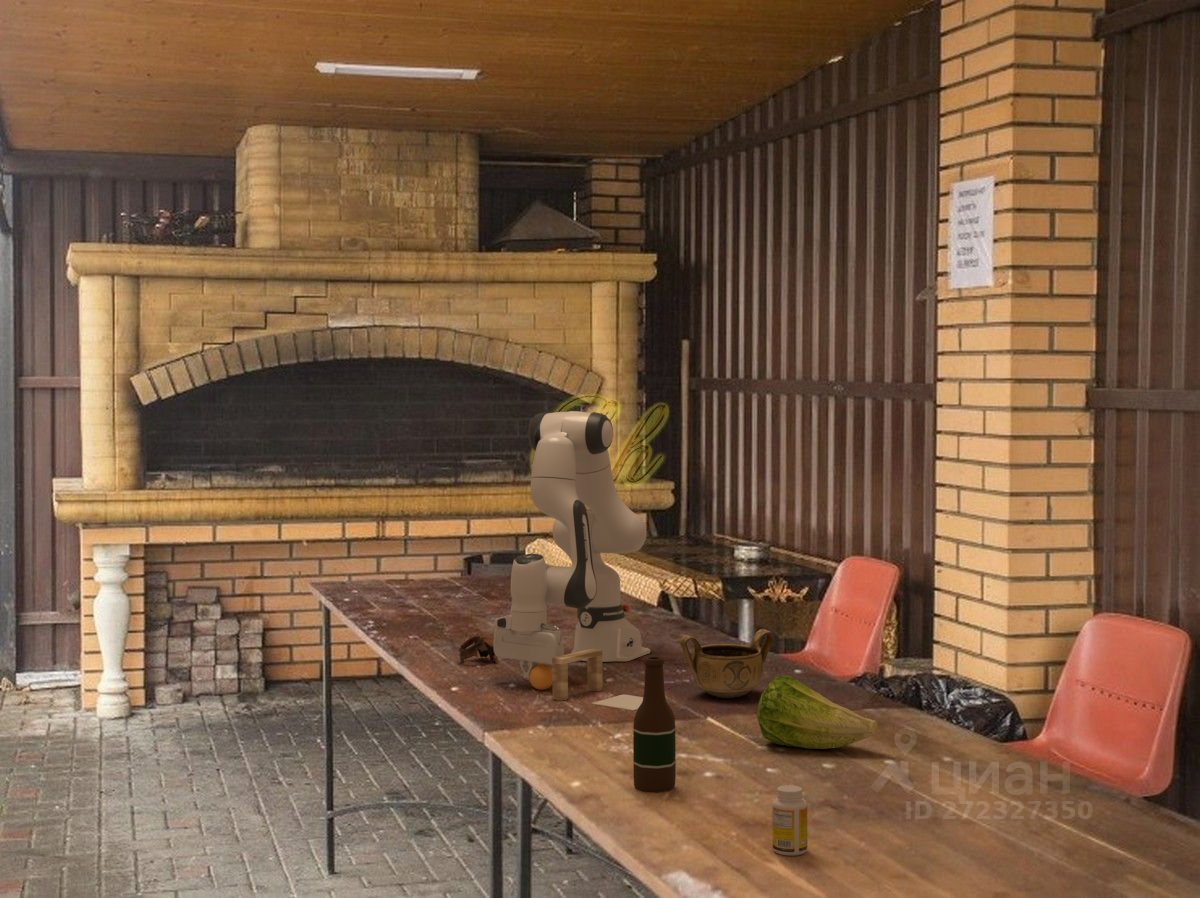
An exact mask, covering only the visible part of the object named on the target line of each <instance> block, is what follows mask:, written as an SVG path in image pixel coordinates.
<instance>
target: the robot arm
mask: <svg viewBox="0 0 1200 898" xmlns="http://www.w3.org/2000/svg"><path fill="white" fill-rule="evenodd" d="M613 437H614V429H613V424H612V422H611V420H610V419H609V418H608V416H607V415H606V414H604V413H601V412H600V413H599V412H595V411H594V412H586V411H577V410H568V411H557V412H555V411H554V412H549V411H546V412H540V413H537V414H535V415H534V417H532V418H531V420H530V421H529V424H528V429H527V438H528V442H529V445H530V447H531V448H532V450H533V451H534V456H533V462H532V467H531V475H530V476H531V477H530V478H531V479H530V497H531V501H532V503H533V504H534V505H535V507H536V509H538V511H540V512H541V513H543V514H544V515H546V516H548V517H550V518H552V519H554V522H553V525H552V537H553V540H554V542H555V544H556V546H557V547H558V548H560V549H561V550H562V551H563V552H564V553H565V554H566V555H567V556H568V558H569V559H570V561H571V566H563V565H562V566H561V565H560V566H559V565H550V564H548V563H546V559H545V557H544V555H542V554H539V553H525V554H521V555H518V556H517V557H515V558H514V559H513V563H512V567H511V571H510V572H511V573H510V595H511V606H510V614H507V615H505V616H502V617H498V618H495V620H494V627H495V630H494V633H493V646H494V653H495V655H496V656H497V657H498V658H505V659H511V660H518V661H519V666H520V668H521V671H522V673H523V674H522V675H523V677H522V678H523V679H524V680H529V681H530V678H529V676H530V672H531V670H532V669H533V668H534V667H535V666H537V665H539V664H542V665H550V666H552V658H554V657H558V656H563V655H565V648H564V641H563V631H561V629H560V628H559V627H558V626H557V625H553V624H552V625H550V624H548V607H547V606H548V605H550V606H561V607H568V608H573V609H576V616H577V620H578V622H577V623H576V625H575V631H574V632H575V633H574V643H573V649H572V650H571V652H570V654H571V653H576V652H580V651H584V650H589V649H599V650H602V663H603V662H604V663H607V662H630V661H633V660H634V659H638V658H640V657H643V656H645V655H648V654H650V652H651V649H650V648H648V647H645V646H643V645H642V635H641V632H640V630H639V629H638V628H637V627H636V626H634V625H633V624H632V622H630V621H629V620H628V619H626V615H625V612H626V613H630V612H631V609H632V608H631V605H630V604H625V603H624V604H621V578H620V575H619V574H618V572H617V571H616V570H615V569H614V568H612V567H611V566H609V565H608V564H606V563H605V562H604V560H603V559H602V555H601V554H621V555H622V554H629V553H633V552H638V551H640V550H641V548H642V547H643V546H644V544H645V542H646V539H647V526H646V523H645V522H644V520H643V518H642V517H641V516H640V515H638V514H636V513H635V512H634V511H632V510H631V509H630V508H629V507H628V506H627V504H625V503H624V501H623V499H621V497H620V495H619V493H618V491H617V489H616V486H615V485H616V484H615V481H614V477H613V472H612V464H611V458H610V453H609V448H610V447H611V445H612V443H613ZM587 507H588V509H589V510H587ZM581 661H583V662H587V659H583V660H581Z"/></svg>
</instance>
